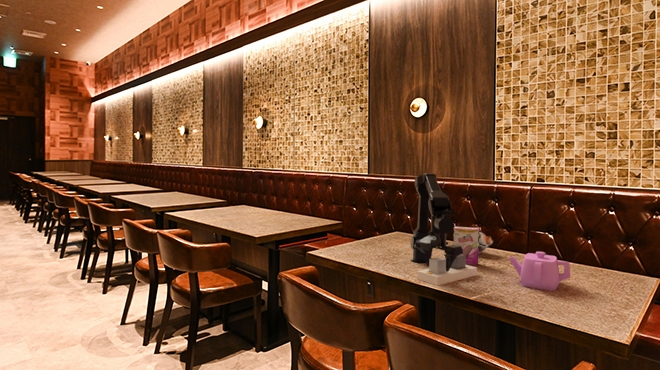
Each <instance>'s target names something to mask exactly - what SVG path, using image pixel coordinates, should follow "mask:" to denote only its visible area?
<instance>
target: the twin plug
mask: <svg viewBox="0 0 660 370" xmlns="http://www.w3.org/2000/svg"><path fill="white" fill-rule="evenodd" d="M465 263H466V255H463V254H460V255H459V256H457V257H456V259H455V260H454V262H453V264H452V266H451V268H453V269H457V270H459V269H464V268H465V265H466V264H465Z"/></svg>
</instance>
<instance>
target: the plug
mask: <svg viewBox="0 0 660 370" xmlns="http://www.w3.org/2000/svg"><path fill="white" fill-rule="evenodd" d="M428 269H429V272H431V273H434V274H437V275H438V274H443V273H446V258H443V257H439V256H437V257H431V259H429V266H428Z"/></svg>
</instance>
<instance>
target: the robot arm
mask: <svg viewBox="0 0 660 370" xmlns="http://www.w3.org/2000/svg"><path fill="white" fill-rule="evenodd" d="M414 187H415V190H416V192H417V194H418V211H417V226H416V228H415V229H414V230H413V235H412V236H411V240H410V248H411V249H412V251H413V252H412V255H413V256H412V259H410V261H411V262H414V263H418V264H426V266H427V267H429V259H431V258H432V257H433V256H432V255H433V249H436V250H441V251H444V253H445V254H443V256H444V257H445V259H446V271H447V272H448V271H449V270H450V268H451V266H452V264H453V262H454V260H455V259H456V257H457V256H459V255H460V254H463V248H462V247H461V246H457V245H453V244H450V245H449V242H448V241H447V235H449V233H451V232H453V231H454V227H455V223H454V222H455V221H454V220H453V219H452V218H450V216H453V212H454V209H453V206H452V202H451V199H449V196H448V195H447V194H446V193H445V192H443V191H442V190H441V187H440V185H439V182H438V180H437V175H436V173H433V172H432V173H431V172H430V173H426V172H425V173H423V174H421V175H417V176H416V177H415V178H414ZM429 213H430V215H431V216H430V219H431V220H430V230H429Z"/></svg>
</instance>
